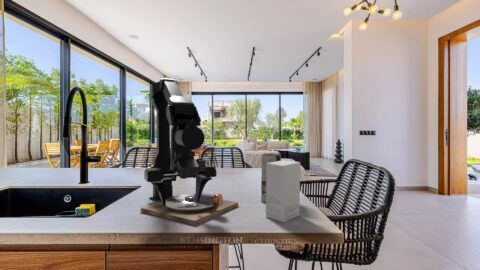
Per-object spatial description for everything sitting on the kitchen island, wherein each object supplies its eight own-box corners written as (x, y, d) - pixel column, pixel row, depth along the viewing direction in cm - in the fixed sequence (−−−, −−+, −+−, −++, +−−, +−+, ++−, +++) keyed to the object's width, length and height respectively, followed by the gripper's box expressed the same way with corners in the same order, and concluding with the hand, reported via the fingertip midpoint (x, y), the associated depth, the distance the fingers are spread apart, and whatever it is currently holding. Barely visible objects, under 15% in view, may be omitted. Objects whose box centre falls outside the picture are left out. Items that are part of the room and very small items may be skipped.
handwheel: (153, 205, 81) (153, 191, 81) (189, 195, 94) (189, 183, 94) (203, 217, 71) (203, 201, 71) (235, 203, 84) (235, 189, 84)
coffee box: (279, 203, 91) (280, 155, 90) (260, 202, 92) (261, 154, 92) (281, 196, 100) (281, 153, 99) (263, 195, 101) (264, 152, 100)
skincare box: (282, 211, 82) (283, 159, 81) (301, 216, 77) (302, 161, 77) (264, 217, 76) (265, 162, 75) (283, 223, 71) (284, 164, 71)
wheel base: (140, 212, 80) (140, 208, 80) (188, 197, 98) (188, 193, 98) (195, 225, 69) (195, 220, 69) (238, 205, 87) (238, 202, 87)
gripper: (151, 150, 62) (151, 217, 63) (224, 148, 71) (224, 207, 71) (143, 147, 72) (143, 205, 72) (209, 145, 81) (209, 197, 81)
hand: (181, 204), depth 74 cm, fingers open, 9 cm apart
